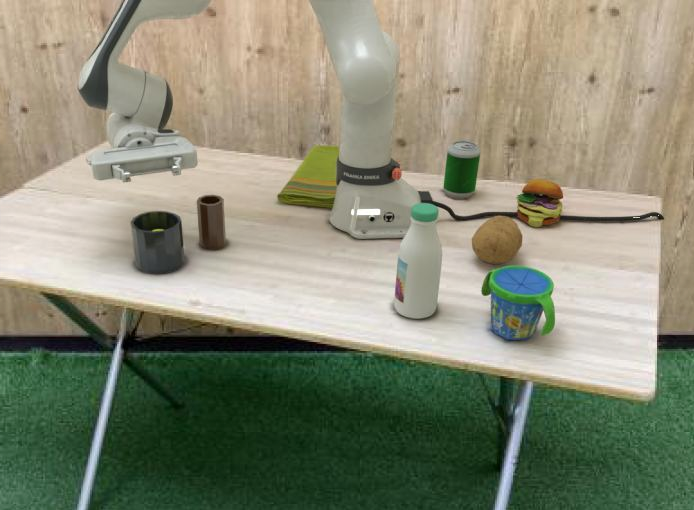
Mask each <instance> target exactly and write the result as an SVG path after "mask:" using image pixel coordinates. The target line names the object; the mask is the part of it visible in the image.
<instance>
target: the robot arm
mask: <svg viewBox="0 0 694 510" xmlns="http://www.w3.org/2000/svg"><path fill="white" fill-rule="evenodd" d="M308 1H309V5H310V6H311V8H312V11H313V13H314V15H315V18H316V19H317V21H318V24H319V26H320V30H321V33H322V36H323V39H324V43H325V45H326V46H325V47H326V49H327V52H328V55H329V58H330V61H331V64H332V66H333V67H332V68H333V69H334V72H335V75H336V78H337V81H338V86H339V89H340V91H341V93H342V103H341V111H340V120H339V141H338V146H339V156H338V158H337V162H336V184H337V188H336V194H335V200H334V204H333V208H331V211H330V213H329V217H328V221H329V223H330V224H331V225H332V226H333V227H334V228H337V229H338V230H340V231H343V232H345V233H348V235H350V236H351V237H352V238H355V239H356V240H357V239H358V240H362V239H363V240H365V239H366V240H367V239H370V240H371V239H404V237H405V235H406V234H407V232H408V230H409V228H410V225H411V222H412V221H411V219H410V218H411V208H412V206H413V205H415V204H418V203H429V204H433V205H435V206H436V207H437V208H440V209H442V210H445V211H447V213H448V214H449V216H450V217H451V218H452V219H454V220H455V221H456V220H457V221H472V220H478V219H481V218H487V217H495V216H498V215H499V216H507V217H509V218H511V217H514V218H519V217H518V213H517V211H484V212H478V213H475V214H470V215H465V216H464V215H458V214H456V213H455V211H454V210H453V209H452V208H451V207H450V206H449V205H446V204H444V203H442V202H439V201H435V200H433V197H432V195H431V193H430V191H429V190H418V189H416V188H415V187H414V186H413V185H411V184H410V183H408V181H406V180H404V178H403V177H402V173H403V171H402V169H401V164H400V162H399V161H400V160H399V159H398V158H396V160H395V159H394V158H393V157H392V149H393V136H394V135H393V134H394V122H395V113H396V103H397V94H398V84H399V74H400V64H401V63H400V62H401V53H400V52H401V51H400V49H399V46H398V43H397V42H396V40H395V39H394V38H393V36H392V35H391V34H390V33H389V32H387V31H385V30H382V28H381V25H380V21H379V18H378V14H377V11H376V9H375V5H374V2H373V1H374V0H308ZM211 2H212V0H122V2H121V3H120V4H119V6H118V8H117V10H116V11H115V14H114V15H113V16H112V19H110V22H109V24H108V26H107V28H106V29H105V31H104V32H103V34H102V36H101V38H100V40H99V42H98V44H97V45H96V47H95V49H94V50H93V51H92V53H91V55H90V56H89V57H88V59H87V60H86V62H85V63H84V65H83V66H82V68H81V70H80V72H79V76H78V81H77V90H78V92H79V95H80V96H81V98H82V100H83V101H84V102H85V103H86V105H87V106H88V107H90V108H93V109H94V108H95V109H98V110H101V111H108V112H111V113H110V114H109V115H108V117H107V120H106V125H105V133H106V138H107V141H108V143H109V144H108V145H110V148H104V149H97V150H94V151H93V152H92V153H91V154H90V155H89V156H86V158H85V161H86V163H87V165H89V166H91V172H92V177H93V179H94V180H96V181H108V180H113V179H114V180H115V179H116V180H120V181H121V182H122V183H131V182H132V179H131V177H136V176H145V175H152V174H158V173H160V174H161V173H167V172H171V175H172V176H175V177H176V176H181V175H182V170H187V169H188V170H189V169H195V168H197V166H198V163H199V162H198V152H197V149H196V147H195V146H194V145H193V143H192V142H191V141H189V140H188V139H187V138H186V137H183V136H181V132H180V131H179V130H178V129H165V127H166V126H167V124H168V122H169V121H170V119H171V118H170V117H171V114H172V111H173V106H174V98H173V94H172V90H171V86H170V84H169V83H168V81H167V80H166V78H163V77H161V76H159V75H156V74H154V73H151V72H148V71H146V70H141V69H138V68H136V67H134V66H130V65H128V64H125V63H122V62H121V61H119V60H120V57H121V55H122V54H123V52H124V50H125V48H126V47H127V45H128V43H129V42H130V40H131V38H132V36H133V34H134V32H135V31H136V30H137V29H138V27H139V26H140V25H142V24H144V23H146V22H150V21H155V20H185V19H192V18H194V17H196V16H199V15H200V14H202V13H203V12H205V11H207V8H208V7H209V5H210V4H211ZM658 215H659V216H658ZM650 216H652V217H650ZM633 217H640V218H633ZM653 217H655V218H657V219H658V220H662V221H664V220H665V217H664V215H662V213H660V212H657V211H651V212H647V213H645V214H641V215H629V216H583V215H567V214H566V215H564V214H560V218H559V221H578V222H632V221H643V220H645V219H650V218H653Z"/></svg>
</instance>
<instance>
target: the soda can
mask: <svg viewBox="0 0 694 510" xmlns="http://www.w3.org/2000/svg"><path fill="white" fill-rule="evenodd" d="M446 152H447V153H446V161H445V169H444V177H443V178H444V180H443V186H442V191H444V192H445V194H446V195H447V197H449V198H452V199H455V200H456V199H458V200H464V199H468V198H470V197H471V196H472V195H474V194H475V192H476V187H477V180H478V172H479V166H480V165H479V164H480V158H481V148H479V146H478V144H477V143H476V142H472V141H468V140H456V141H453V142H452V143H451V144H450V145H448V147H447V151H446Z"/></svg>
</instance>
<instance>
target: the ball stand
mask: <svg viewBox="0 0 694 510" xmlns="http://www.w3.org/2000/svg"><path fill="white" fill-rule="evenodd" d="M196 210H197V211H196V212H197V224H198V237H199V238H198V239H199V244H200V245H199V246H200V247H201V248H202V249H204V250H208V251H217V250H221V249H223V248H225V247H226V241H227V237H226V236H227V234H226V216H225V215H226V214H225V199H224V198H223V197H222V196H220V195H217V194H205V195H201V196H199V197H198V198H197V200H196Z"/></svg>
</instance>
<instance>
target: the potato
mask: <svg viewBox="0 0 694 510" xmlns="http://www.w3.org/2000/svg"><path fill="white" fill-rule="evenodd" d="M471 246H472V250H473V252H474V253H475V255H476V256H477V257H478V258H479V259H480V260H481V261H482V262H485V263H487V264H492V265H500V264H503V263H506V262H509V261H511V260H513V259H514V258H515V257H516V256H517V254H518V252H519V251H520V249H521V247H522V246H523V233H522V231H521V229H520V228H519V226H518V224H517V222H516V221H515V220H514V219H513V218H511V217H510V216H499V215H498V216H491V217H490V218H488V219H487V220H486V221H485V222H483V223H482V224H481V225H480V226H479V227H478V228H477V229H476V230H475V233H474V234H473V235H472V238H471Z"/></svg>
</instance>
